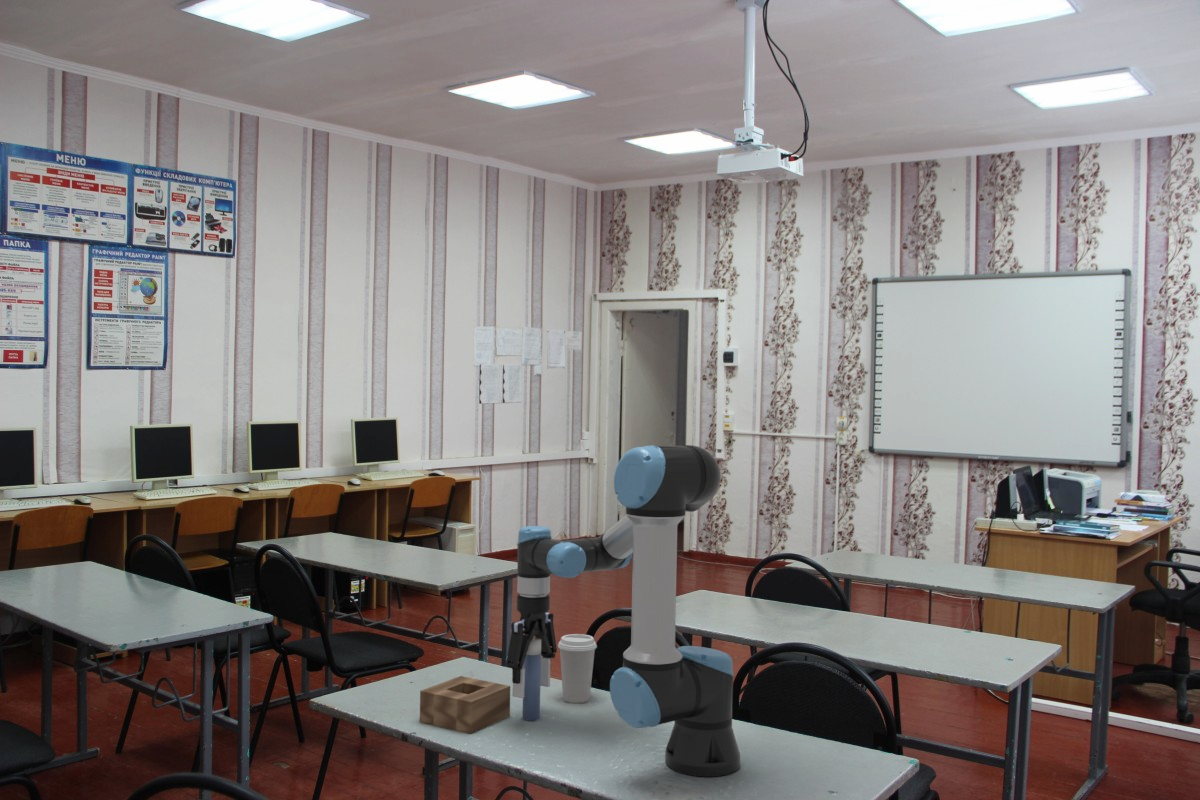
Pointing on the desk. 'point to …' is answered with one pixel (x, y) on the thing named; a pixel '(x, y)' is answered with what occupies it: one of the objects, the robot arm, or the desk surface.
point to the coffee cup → (576, 666)
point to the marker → (532, 681)
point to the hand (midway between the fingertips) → (531, 691)
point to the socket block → (465, 704)
